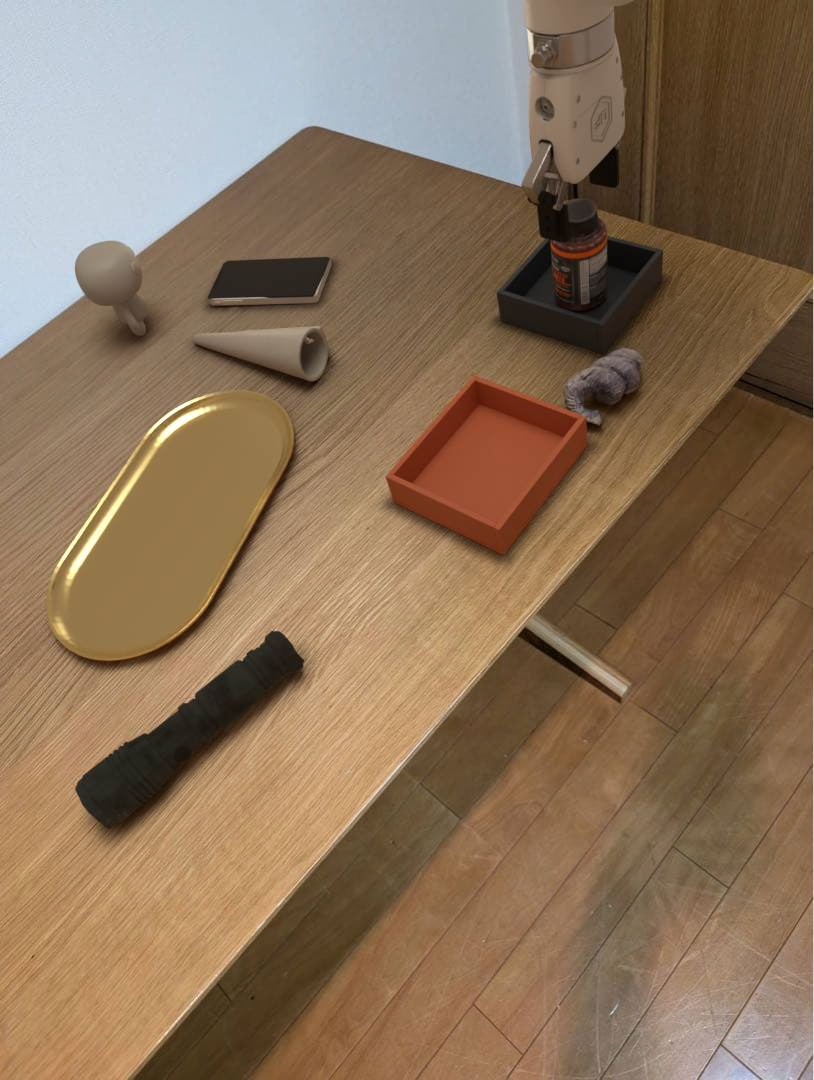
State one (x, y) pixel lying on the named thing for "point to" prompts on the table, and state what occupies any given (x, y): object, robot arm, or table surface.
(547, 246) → the slate bin
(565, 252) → the supplement bottle
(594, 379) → the grey curved ribbed piece
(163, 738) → the flashlight
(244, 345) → the long tapered cone
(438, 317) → the table surface
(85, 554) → the serving platter
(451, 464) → the terracotta bin
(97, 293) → the figurine
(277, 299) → the smartphone
